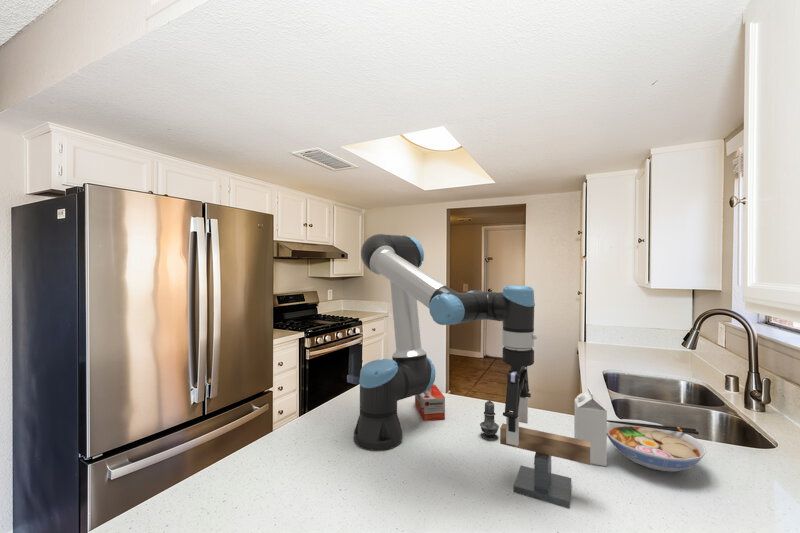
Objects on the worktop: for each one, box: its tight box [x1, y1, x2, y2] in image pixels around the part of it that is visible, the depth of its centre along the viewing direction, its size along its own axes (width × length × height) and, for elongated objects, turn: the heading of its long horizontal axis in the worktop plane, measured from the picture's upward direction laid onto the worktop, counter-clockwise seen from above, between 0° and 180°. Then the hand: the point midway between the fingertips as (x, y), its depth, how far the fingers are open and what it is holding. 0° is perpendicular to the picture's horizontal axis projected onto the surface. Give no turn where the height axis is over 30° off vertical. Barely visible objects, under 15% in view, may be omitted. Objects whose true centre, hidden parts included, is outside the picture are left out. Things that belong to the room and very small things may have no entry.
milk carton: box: [573, 386, 608, 467], centre depth 101 cm, size 7×7×19 cm
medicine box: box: [414, 384, 446, 422], centre depth 132 cm, size 15×8×8 cm, turn 9°
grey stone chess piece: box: [479, 398, 500, 442], centre depth 113 cm, size 6×6×12 cm
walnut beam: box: [499, 423, 591, 466], centre depth 87 cm, size 20×3×4 cm, turn 62°
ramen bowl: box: [607, 418, 708, 472], centre depth 98 cm, size 25×23×8 cm
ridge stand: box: [513, 452, 572, 509], centre depth 87 cm, size 12×10×9 cm
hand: (517, 432), depth 90 cm, fingers open, 13 cm apart
